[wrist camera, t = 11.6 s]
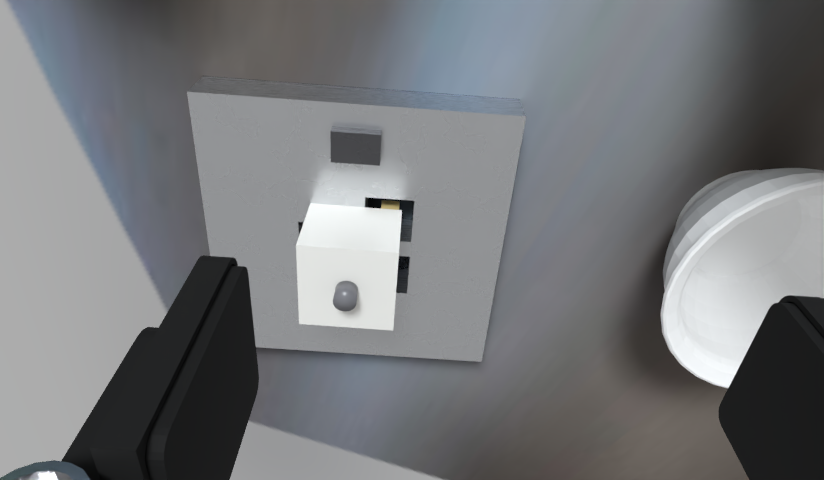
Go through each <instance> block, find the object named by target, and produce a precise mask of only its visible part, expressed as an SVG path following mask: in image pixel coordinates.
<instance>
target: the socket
mask: <svg viewBox="0 0 824 480" xmlns="http://www.w3.org/2000/svg"><path fill="white" fill-rule="evenodd" d="M187 95H188V102H189V109H190V116H191V123H192V130H193V137H194V144H195V151H196V158H197V165H198V172H199V179H200V186H201V193H202V200H203V207H204V214H205V221H206V228H207V236H208V243H209V250H210V256H218V257H233V258H235V259H236V261H237V264H238V266H244V267H247V270H248V276H249V286H250V296H251V305H252V315H253V325H254V335H255V345H256V347H261V348H276V349H291V350H307V351H322V352H338V353H353V354H369V355H384V356H399V357H415V358H430V359H446V360H461V361H477V362H482V357H483V351H484V346H485V340H486V335H487V329H488V324H489V318H490V313H491V307H492V302H493V296H494V291H495V285H496V280H497V274H498V269H499V263H500V258H501V252H502V247H503V241H504V236H505V230H506V225H507V219H508V214H509V208H510V203H511V197H512V192H513V186H514V181H515V175H516V170H517V164H518V159H519V153H520V148H521V143H522V137H523V132H524V126H525V121H526V115H525V112H524V110H523V107H522V105H521V102H520V99H508V98H494V97H481V96H467V95H453V94H440V93H426V92H413V91H399V90H386V89H372V88H358V87H345V86H331V85H318V84H304V83H291V82H277V81H263V80H250V79H236V78H223V77H209V76H203V77H202V78H201V79H200V80H199V81H198V82H197V83H196V84H195V85H194V86H192V87H191V88H190V89H189V90H188V91H187ZM368 198H382V199H397V200H411V201H414V202H413V214H412V219H401V232H400V247H399V256H407V257H409V264H408V269H399V268H398V274H397V287H396V300H395V314H394V327H393V330H378V329H364V328H350V327H335V326H321V325H307V324H299V310H298V285H297V260H296V244H297V241H298V238H299V235H300V232H301V229H302V226H303V223H304V220H305V217H306V214H307V211H308V208H309V206H310V203H313V204H327V205H340V206H354V207H367V208H368Z"/></svg>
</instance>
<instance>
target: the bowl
mask: <svg viewBox="0 0 824 480" xmlns="http://www.w3.org/2000/svg"><path fill="white" fill-rule="evenodd" d="M663 279H664V289H665V293H664V296H663V302H662V308H661V314H660V315H661V326H662V334H663V336H664V339H665V341H666V344H667V346H668V349H669V350H670V352H671V353H672V354H673V355H674V357H675V358H676V359H677V361H678V362H679V363H680V364H681V365H682V366H683V367H684V368H686V369H687V370H688V371H690V372H691V373H692V374H694V375H695V376H696V377H698V378H700V379H703V380H705V381H707V382H709V383H711V384H713V385H717V386H721V387H725V388H729V386H730V384H731V382H732V380H733V378H734V376H735V374H736V372H737V370H738V368H739V367H740V365H741V363H742V361H743V359H744V357H745V355H746V353H747V351H748V349H749V347H750V345H751V343H752V341H753V339H754V337H755V335H756V333H757V331H758V329H759V327H760V325H761V324H762V322H763V320H764V318H765V316H766V314H767V312H768V310H769V308H770V307H771V305H773V304H774V303H778V302H779V301H780V300H781V299H782V298H783V297H785V296H789V295H794V296H808V297H820V298H824V171H823V170H817V169H808V168H778V169H765V170H747V171H740V172H736V173H732V174H729V175H726V176H724V177H721V178H719V179H716V180H715V181H713V182H711V183H710V184H708V185H706V186H705V187H703V188H702V189H701V190H700V191H698V192H697V193H696V194H695V195H694V196H693V197H692V198H691V199H690V200H689V201H688V202H687V204H686V205H685V207H684V208H683V210H682V211H681V213H680V215H679V217H678V220H677V222H676V225H675V230H674V232H673V235H672V237H671V240H670V242H669V245H668V249H667V252H666V256H665V262H664V268H663Z"/></svg>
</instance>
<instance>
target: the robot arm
mask: <svg viewBox="0 0 824 480" xmlns="http://www.w3.org/2000/svg"><path fill="white" fill-rule="evenodd" d="M258 382H259V374H258V364H257V354H256V345H255V335H254V325H253V315H252V305H251V296H250V286H249V276H248V270H247V267H244V266H238V264H237V261H236V259H235V258H233V257H218V256H201V257H200V258H199V259H198V261H197V262H196V264H195V266H194V268H193V269H192V271H191V273H190V274H189V276H188V278H187V280H186V281H185V283H184V285H183V287H182V288H181V290H180V292H179V294H178V295H177V297H176V299H175V301H174V302H173V304H172V306H171V307H170V309H169V311H168V313H167V314H166V316H165V318H164V320H163V321H162V323H161V325H160V327H159V328H153V327H147V328H145V329H144V330H142V331H141V333H140V334H139V335H138V337H137V338H136V340H135V342H134V343H133V345H132V346H131V348H130V350H129V351H128V353H127V354H126V356H125V358H124V360H123V361H122V363H121V364H120V366H119V368H118V369H117V371H116V373H115V374H114V376H113V377H112V379H111V381H110V382H109V384H108V386H107V387H106V389H105V391H104V392H103V394H102V395H101V397H100V399H99V400H98V402H97V404H96V405H95V407H94V409H93V410H92V412H91V414H90V415H89V417H88V418H87V420H86V422H85V423H84V425H83V427H82V428H81V430H80V431H79V433H78V435H77V436H76V438H75V440H74V441H73V443H72V445H71V446H70V448H69V449H68V451H67V453H66V454H65V456H64V458H63V459H62V461H55V460H54V461H46V462H38V463H33V464H30V465H28V466H24V467H21V468H18V469H16V470H14V471H12V472H10V473H8V474H6V475H5V476H3V477H1V478H0V480H229V479H230V476H231V473H232V470H233V467H234V464H235V461H236V458H237V454H238V451H239V448H240V445H241V442H242V439H243V436H244V432H245V429H246V426H247V423H248V420H249V417H250V414H251V411H252V407H253V404H254V401H255V398H256V395H257V390H258ZM719 420H720V424H721V426H722V428H723V430H724V432H725V434H726V436H727V438H728V439H729V441H730V443H731V445H732V447H733V449H734V451H735V453H736V455H737V457H738V459H739V460H740V462H741V464H742V466H743V468H744V470H745V472H746V474H747V476H748V478H749V479H750V480H824V298H820V297H808V296H794V295H789V296H785V297H783V298H782V299H781V300H780V301H779V302H778V303H774V304H773V305H771V307H770V308H769V310H768V312H767V314H766V316H765V318H764V320H763V322H762V324H761V325H760V327H759V329H758V331H757V333H756V335H755V337H754V339H753V341H752V343H751V345H750V347H749V349H748V351H747V353H746V355H745V357H744V359H743V361H742V363H741V365H740V367H739V368H738V370H737V372H736V374H735V376H734V378H733V380H732V382H731V384H730V386H729V388H728V390H727V392H726V394H725V396H724V398H723V400H722V402H721V404H720V407H719Z"/></svg>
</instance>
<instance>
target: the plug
mask: <svg viewBox="0 0 824 480" xmlns="http://www.w3.org/2000/svg"><path fill="white" fill-rule="evenodd" d="M399 204H400V201H387V200H382V204H381V208H367V207H354V206H340V205H327V204H313V203H310V206H309V208H308V211H307V214H306V217H305V220H304V223H303V226H302V229H301V232H300V235H299V238H298V241H297V244H296V260H297V285H298V310H299V324H307V325H321V326H335V327H350V328H364V329H378V330H393V327H394V314H395V300H396V287H397V274H398V260H399V247H400V232H401V218H402V210H399Z"/></svg>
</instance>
